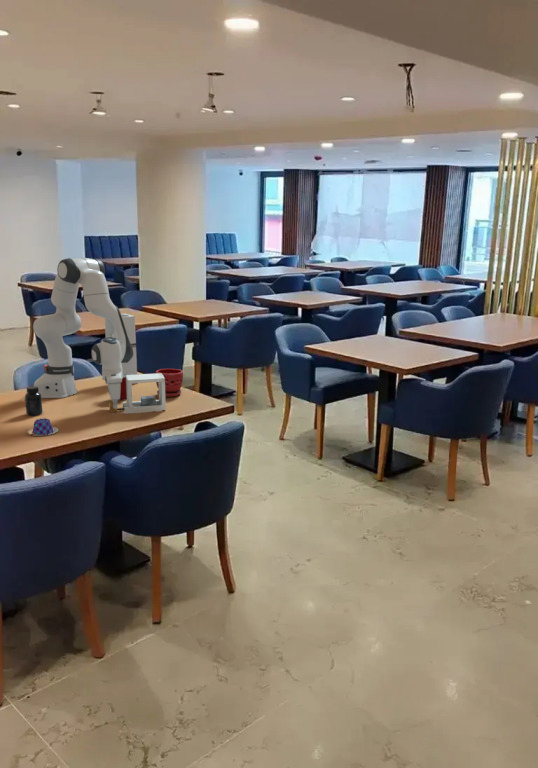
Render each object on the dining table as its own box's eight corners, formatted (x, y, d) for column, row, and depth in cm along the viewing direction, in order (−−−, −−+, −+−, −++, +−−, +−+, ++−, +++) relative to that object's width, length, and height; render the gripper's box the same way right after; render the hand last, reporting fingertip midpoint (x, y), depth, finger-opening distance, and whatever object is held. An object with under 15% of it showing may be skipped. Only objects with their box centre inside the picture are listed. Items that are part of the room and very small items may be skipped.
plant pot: (181, 398, 329) (181, 373, 326) (154, 398, 329) (153, 373, 326) (184, 391, 342) (184, 367, 339) (158, 391, 342) (157, 367, 339)
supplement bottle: (46, 412, 304) (44, 386, 301) (36, 416, 298) (34, 390, 295) (33, 411, 307) (30, 384, 304) (22, 415, 300) (20, 388, 297)
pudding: (20, 434, 276) (19, 421, 275) (44, 426, 286) (43, 414, 285) (41, 439, 271) (40, 426, 269) (64, 431, 281) (64, 418, 279)
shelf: (124, 413, 304) (123, 380, 300) (122, 407, 313) (121, 375, 309) (165, 410, 309) (164, 378, 305) (162, 404, 318) (161, 373, 314)
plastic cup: (136, 395, 333) (135, 371, 330) (129, 401, 322) (128, 376, 319) (114, 395, 334) (113, 370, 331) (107, 401, 323) (105, 376, 320)
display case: (127, 379, 364) (125, 313, 356) (137, 383, 356) (134, 316, 348) (107, 382, 357) (104, 315, 349) (117, 386, 349) (113, 318, 341)
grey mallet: (110, 413, 304) (110, 402, 303) (109, 409, 309) (109, 398, 308) (156, 409, 309) (155, 399, 308) (154, 406, 315) (154, 395, 314)
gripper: (103, 370, 312) (105, 399, 315) (106, 380, 293) (108, 411, 296) (117, 369, 314) (119, 398, 317) (122, 379, 295) (123, 410, 298)
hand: (114, 405), depth 306 cm, fingers open, 8 cm apart
